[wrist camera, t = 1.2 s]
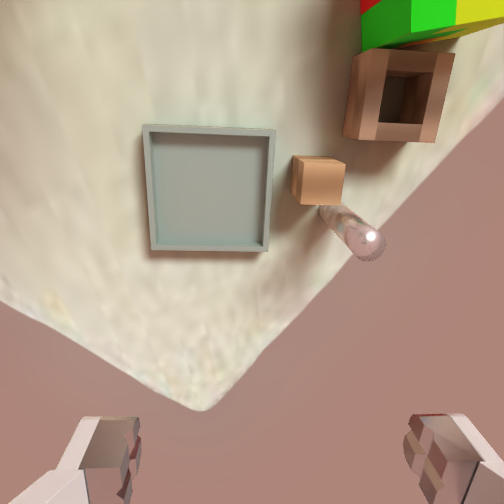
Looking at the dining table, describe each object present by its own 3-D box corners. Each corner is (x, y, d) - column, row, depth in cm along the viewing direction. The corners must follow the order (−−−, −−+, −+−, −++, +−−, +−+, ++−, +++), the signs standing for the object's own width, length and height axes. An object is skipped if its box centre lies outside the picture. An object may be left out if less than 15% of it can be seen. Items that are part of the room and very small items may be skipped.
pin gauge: (320, 197, 40) (356, 230, 29) (344, 198, 40) (388, 231, 29) (317, 220, 41) (351, 261, 30) (340, 221, 41) (382, 261, 30)
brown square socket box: (352, 56, 34) (372, 48, 30) (425, 61, 35) (455, 53, 30) (342, 136, 37) (358, 139, 33) (409, 139, 38) (434, 142, 33)
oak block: (293, 155, 38) (304, 162, 32) (328, 156, 38) (345, 164, 33) (290, 191, 39) (300, 204, 34) (324, 192, 40) (340, 205, 34)
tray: (146, 123, 36) (142, 124, 34) (273, 129, 37) (275, 130, 35) (154, 243, 40) (151, 250, 38) (266, 244, 42) (268, 251, 39)
